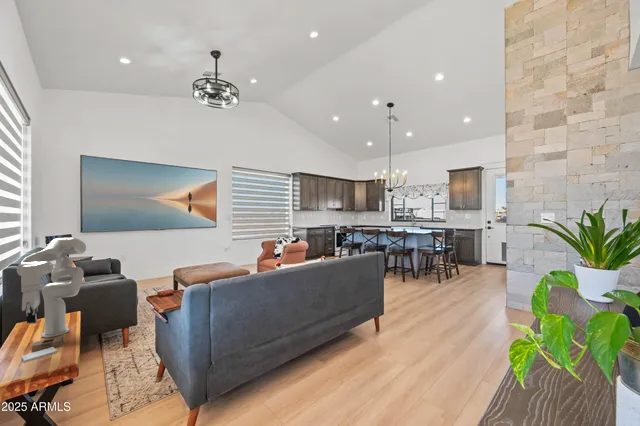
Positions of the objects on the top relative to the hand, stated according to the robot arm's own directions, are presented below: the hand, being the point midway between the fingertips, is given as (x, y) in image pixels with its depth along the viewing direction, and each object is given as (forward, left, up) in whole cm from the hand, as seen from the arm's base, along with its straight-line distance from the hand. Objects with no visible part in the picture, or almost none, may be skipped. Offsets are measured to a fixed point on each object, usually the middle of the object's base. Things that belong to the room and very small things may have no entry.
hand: (32, 320), depth 154 cm
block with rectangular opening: (-4, +5, -17) cm, 18 cm away
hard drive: (+7, +4, -18) cm, 19 cm away
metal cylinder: (0, 0, -1) cm, 1 cm away
